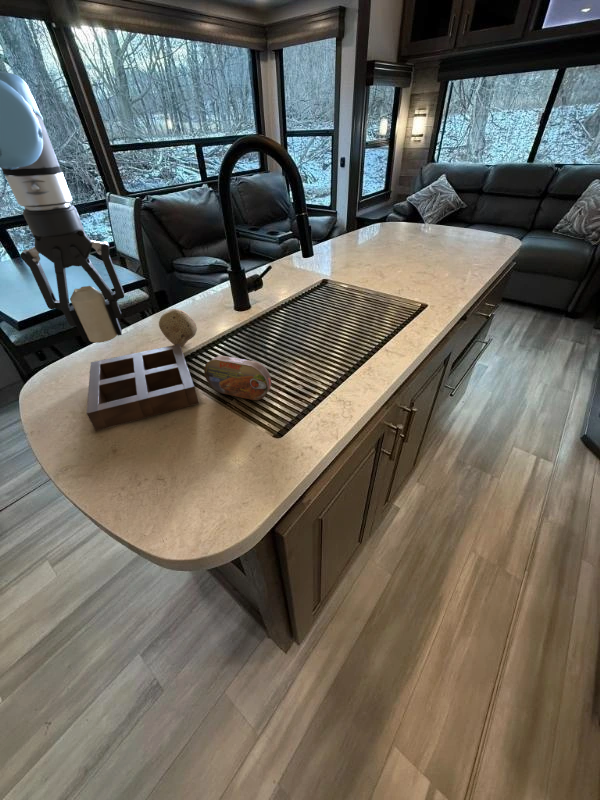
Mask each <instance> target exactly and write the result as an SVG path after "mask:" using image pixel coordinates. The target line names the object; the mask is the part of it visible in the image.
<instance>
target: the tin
mask: <svg viewBox="0 0 600 800" xmlns="http://www.w3.org/2000/svg"><path fill="white" fill-rule="evenodd" d="M203 372H204V374H203V375H204V377H205V380H206V381H207V383H208V384H209V386H210V387H211V388H212V389H213V390H215V391H216V392H218V393H220V394H223V395H229V396H232V397H237V398H242V399H246V400H250V401H259V400H261V399H264V398H265V397H266V395H267V394H268V392H269V391H270V389H271V387H272V378H271V375H270V372H269V370H268V369H267V368H266V367H265V366H264V365H263V364H262V363H261V362H258V361H255V360H249V359H244V358H239V357H233V356H228V355H226V356H225V355H218V356H215V357H213V358H212V359H210V360H209V361H207V362H206V364H205V366H204V368H203Z"/></svg>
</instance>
